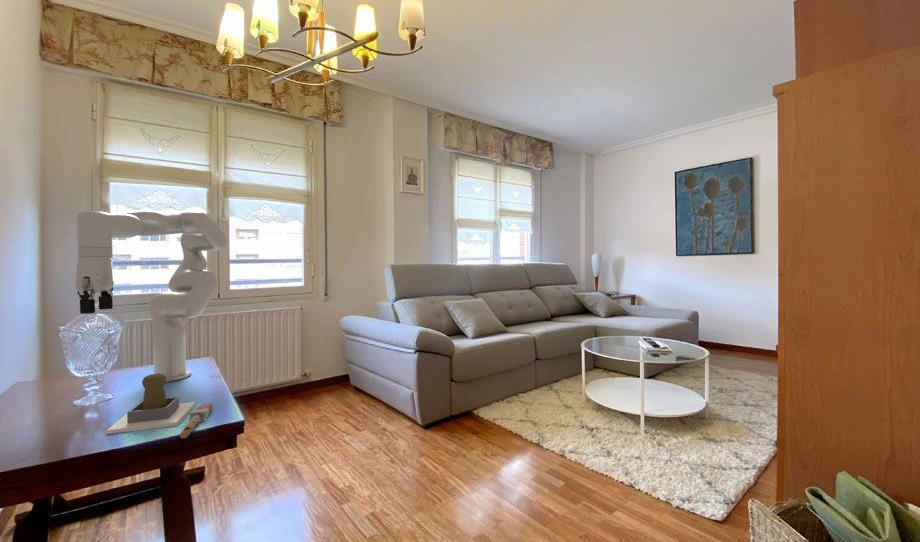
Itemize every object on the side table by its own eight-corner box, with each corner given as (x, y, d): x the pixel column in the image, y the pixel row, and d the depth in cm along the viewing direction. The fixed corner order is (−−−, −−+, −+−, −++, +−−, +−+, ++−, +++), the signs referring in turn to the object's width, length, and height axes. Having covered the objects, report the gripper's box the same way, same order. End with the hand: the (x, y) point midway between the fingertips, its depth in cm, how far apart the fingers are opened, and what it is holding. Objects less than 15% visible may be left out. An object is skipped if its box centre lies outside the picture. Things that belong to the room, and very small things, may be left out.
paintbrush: (216, 397, 115) (192, 429, 96) (216, 406, 115) (192, 439, 96) (201, 398, 113) (173, 431, 94) (201, 407, 114) (174, 441, 95)
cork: (153, 419, 104) (152, 378, 103) (135, 417, 105) (134, 377, 105) (174, 410, 110) (173, 372, 109) (156, 408, 111) (156, 370, 110)
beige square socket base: (134, 411, 111) (133, 397, 111) (195, 405, 116) (194, 392, 116) (106, 434, 97) (106, 418, 97) (177, 425, 102) (177, 410, 102)
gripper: (95, 253, 122) (97, 308, 122) (60, 253, 105) (62, 315, 106) (125, 253, 124) (126, 307, 125) (95, 253, 108) (97, 314, 109)
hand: (97, 311), depth 115 cm, fingers open, 9 cm apart
